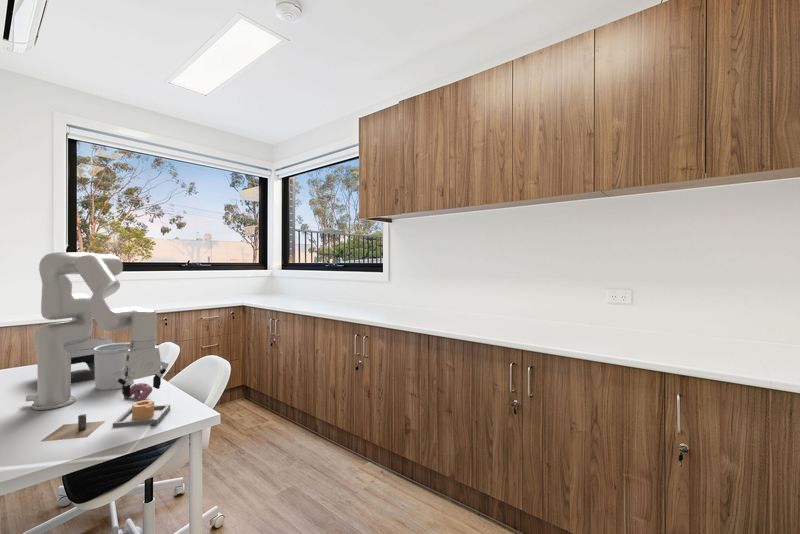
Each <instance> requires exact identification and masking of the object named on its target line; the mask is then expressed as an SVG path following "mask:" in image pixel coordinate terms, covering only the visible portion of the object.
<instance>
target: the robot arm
mask: <svg viewBox="0 0 800 534" xmlns="http://www.w3.org/2000/svg"><path fill="white" fill-rule="evenodd" d="M123 268H124V265H123V262H122V260H121V259H120V257H118V256H116V255H114V254H106V253H105V254H104V253H97V252H96V253H95V252H71V251H70V252H67V251H66V252H64V251H63V252H62V251H61V252H60V251H59V252H58V251H57V252H51V253H47V254H45V255H44V256H43V257H42V258H41V259H40V261H39V264H38V270H39V271H38V272H39V275H40V279H41V301H40V302H41V303H40V313H41V316H42V318H43V319H45V320H51V321H53V320H54V321H55V320H63V319H64V320H65V319H72V320H66V321H58V322H50V323H46V324H43V325H41V326H39V327H38V328H36V329H35V331H34V332H33V342H34V345H35V349H36V356H37V362H36V365H37V371H36V373H37V380H36V381H37V382H36V383H37V393H36V394H26V396H25V402H33V403H32V404H31V409H32V410H36V411H45V410H46V411H47V410H53V409H58V408H62V407H65V406H68V405H71V404H73V403H74V402H76V400H77V396H76V395H73V394H72V384H71V372H72V364H71V357H70V354H69V353H68V352H67V351H66V350H65V349H64V346H67V345H71V344H76V343H81V342H85V341H87V340H89V339H91V336H92V332H93V322H94V321H95V322H96V324H97V325H98V326H99V327H100V328H101V329H102V330H104V331H107V332H113V331H115V332H116V331H121V330H127V329H130V340H129V342H128V343H129V344H126V347H127V348H128V347H129V348H130V349H129V350H128V352H127V356H126V361H125V368H123V369H122V370H120V371H119V372H117V373H115V374H114V377H115V379H116V380H117V382H119V383H120V384H122V388H121V389H122V391H121V393H122V395H123V397H124V396H126V397H129V396H130V388H131V384H130V385H129V383H130V382H131V381H132V380H133V379H134V380H138V379H143V378H147V377H151V376H153V379H152V381H153V383H152V388H155V389H157V390H159V389H160V388H161V383H162V382H161V381H162V377H163V375H164V374H165V373H166V371H167V369H168V367H169V365H170V364H169V363H167V362H165V361H161V359H162V358H161V353H160V347H159V346H157V320H158V319H157V318H158V315H157V314H158V313H157V311H156V310H155V309H151V308H149V309H148V308H142V307H139V306H129V307H121V308H110V307H109V305H108V303H107V302H106V300H105V299H106V298H108V297H110V296H112V295H113V294H115V293H116V292H117V291H119V289H120V287H121V282H120V281H119V279H117V277H116V276H118V275H120V274H121V273H122V272H123V270H124V269H123ZM68 275H80V277H81V278H82V279H83V282H85V283H86V285H87V287H88V288H89V290H90V291H91V292H92V296H91V297H90V296H89V295H87V294H85V293H73V292H72V291H73V290H72V289H73V284H72V281H71V279H70V278H69V277H68ZM124 373H125V378H124V379H122V378H121V375H123V374H124ZM129 398H130V397H129Z"/></svg>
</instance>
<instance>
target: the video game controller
mask: <svg viewBox="0 0 800 534" xmlns="http://www.w3.org/2000/svg"><path fill="white" fill-rule="evenodd" d="M152 392H153V386H151V385H149V384H148V383H144V382H143V383H142V382H141V383H134V384H132V386H130V396H129V397H126V396H124V395H123V399H124V400H127V398H128V399H129V398H131V397H134V398H137V397H138V402H139V401H143V400H147V398H148V397H149V396H150V395H151V393H152Z"/></svg>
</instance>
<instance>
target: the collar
mask: <svg viewBox="0 0 800 534" xmlns="http://www.w3.org/2000/svg"><path fill="white" fill-rule="evenodd" d="M154 406H155V401H154V400H152V399H145V400H143V401H139V400H138V401H136V402H134V403H133V404H132V406H131V407H132V413H131V420H132V421H135V420H146V419H152V418H153V416H154V415H155V410H154Z"/></svg>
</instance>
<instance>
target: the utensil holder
mask: <svg viewBox="0 0 800 534" xmlns="http://www.w3.org/2000/svg"><path fill="white" fill-rule="evenodd" d="M129 343H130V342H114V343H113V344H106V345H101V346H98V347H95V348H94V349H93V351H94V362H95V379H94V384H95V389H97V390H99V389H100V391H109V390H110V389H111V390H116V389H117V388H118V389H122V388H121V387H122V384H120V383H119V382H117V380H116V379H115V377H114V374H115V373H117V372H119V371H120V370H122V369H123V368H125V361H126V356H127V352H128V350H129V349H130V348H129V347H128V348H127V347H126V344H129ZM121 378H122V379H124V378H125V373H124V374H123V375H121ZM134 382H135V379H133V380H132V381H131V382H130V383H129V385H130V386H131V385H133V383H134Z"/></svg>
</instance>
